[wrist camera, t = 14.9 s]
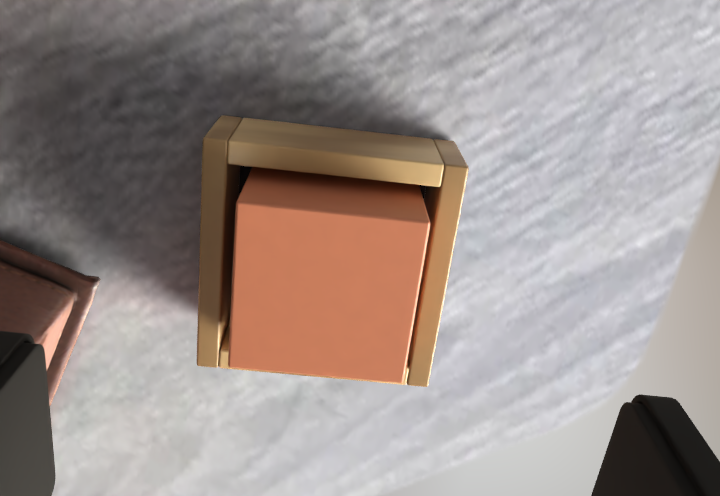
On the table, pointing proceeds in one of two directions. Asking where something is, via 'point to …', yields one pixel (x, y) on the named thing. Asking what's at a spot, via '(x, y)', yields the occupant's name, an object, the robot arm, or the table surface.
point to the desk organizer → (44, 305)
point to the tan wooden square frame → (329, 157)
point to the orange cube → (326, 274)
